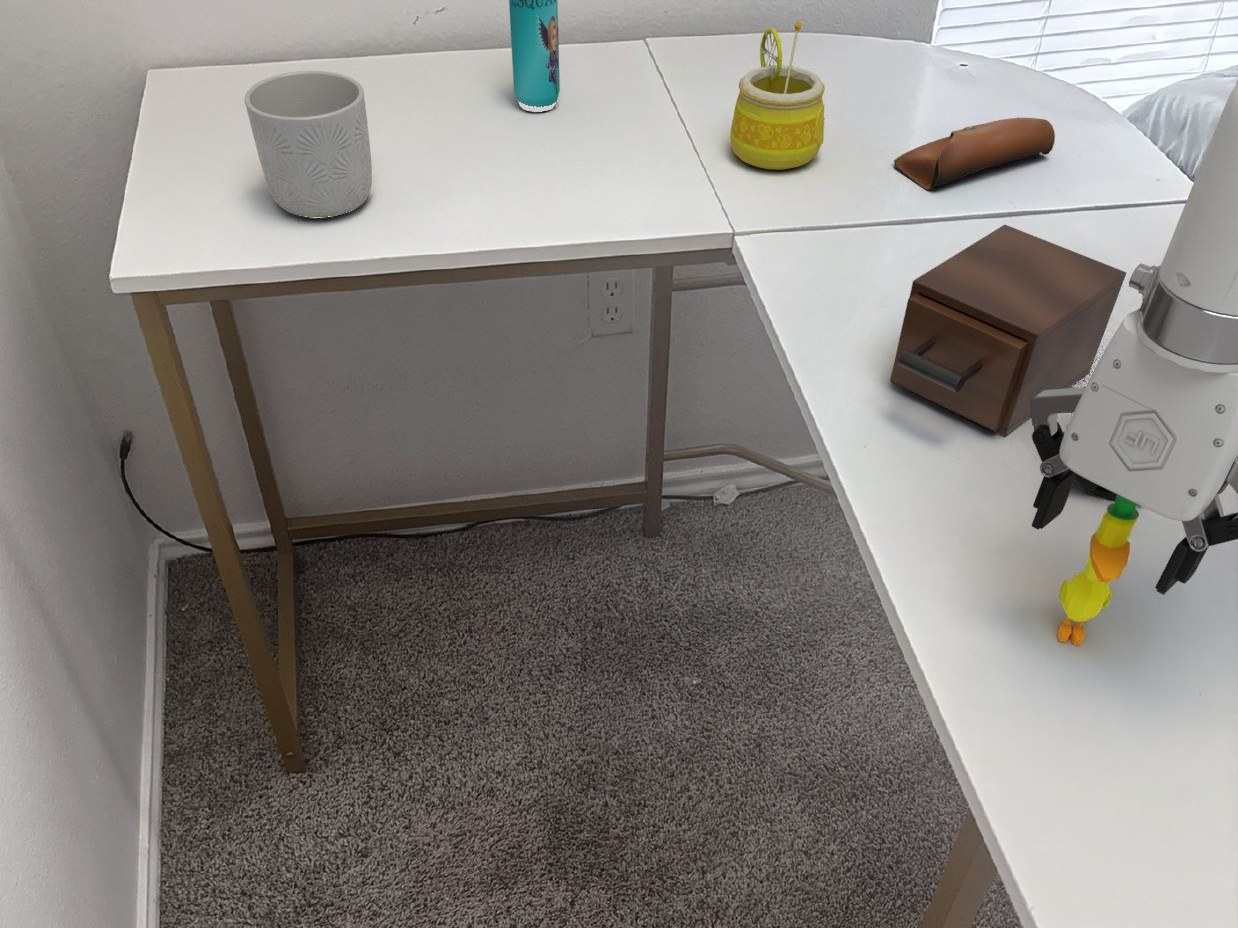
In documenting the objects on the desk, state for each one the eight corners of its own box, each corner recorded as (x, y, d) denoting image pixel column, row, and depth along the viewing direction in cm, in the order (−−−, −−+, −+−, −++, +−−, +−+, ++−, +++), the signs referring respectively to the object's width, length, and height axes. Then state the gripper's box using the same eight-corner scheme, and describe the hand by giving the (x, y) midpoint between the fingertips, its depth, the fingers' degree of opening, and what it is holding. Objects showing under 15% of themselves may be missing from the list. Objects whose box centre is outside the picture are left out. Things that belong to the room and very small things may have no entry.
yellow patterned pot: (809, 182, 132) (826, 63, 122) (718, 168, 134) (727, 50, 124) (832, 137, 139) (850, 21, 129) (745, 124, 141) (756, 10, 131)
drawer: (967, 451, 99) (992, 367, 93) (862, 398, 104) (879, 316, 98) (1074, 371, 107) (1104, 289, 101) (971, 325, 112) (993, 244, 105)
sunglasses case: (1002, 127, 139) (1036, 84, 133) (1028, 178, 139) (1063, 137, 133) (887, 161, 134) (917, 118, 127) (914, 214, 134) (946, 173, 127)
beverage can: (547, 118, 142) (542, -28, 130) (506, 110, 143) (498, -35, 131) (567, 101, 145) (564, -43, 133) (527, 93, 146) (521, -50, 134)
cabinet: (1005, 437, 102) (1038, 335, 94) (890, 381, 107) (912, 280, 100) (1089, 372, 108) (1127, 272, 101) (977, 323, 114) (1004, 223, 106)
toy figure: (1092, 671, 85) (1155, 540, 75) (1043, 662, 85) (1099, 531, 76) (1094, 612, 88) (1154, 480, 79) (1047, 603, 89) (1101, 471, 79)
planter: (292, 172, 133) (270, 65, 124) (393, 183, 131) (379, 75, 122) (251, 222, 125) (225, 112, 117) (358, 234, 124) (340, 123, 115)
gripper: (1048, 284, 68) (971, 519, 82) (1329, 401, 61) (1194, 637, 75) (1112, 242, 72) (1028, 475, 85) (1385, 348, 64) (1246, 584, 78)
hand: (1105, 551), depth 80 cm, fingers open, 9 cm apart
